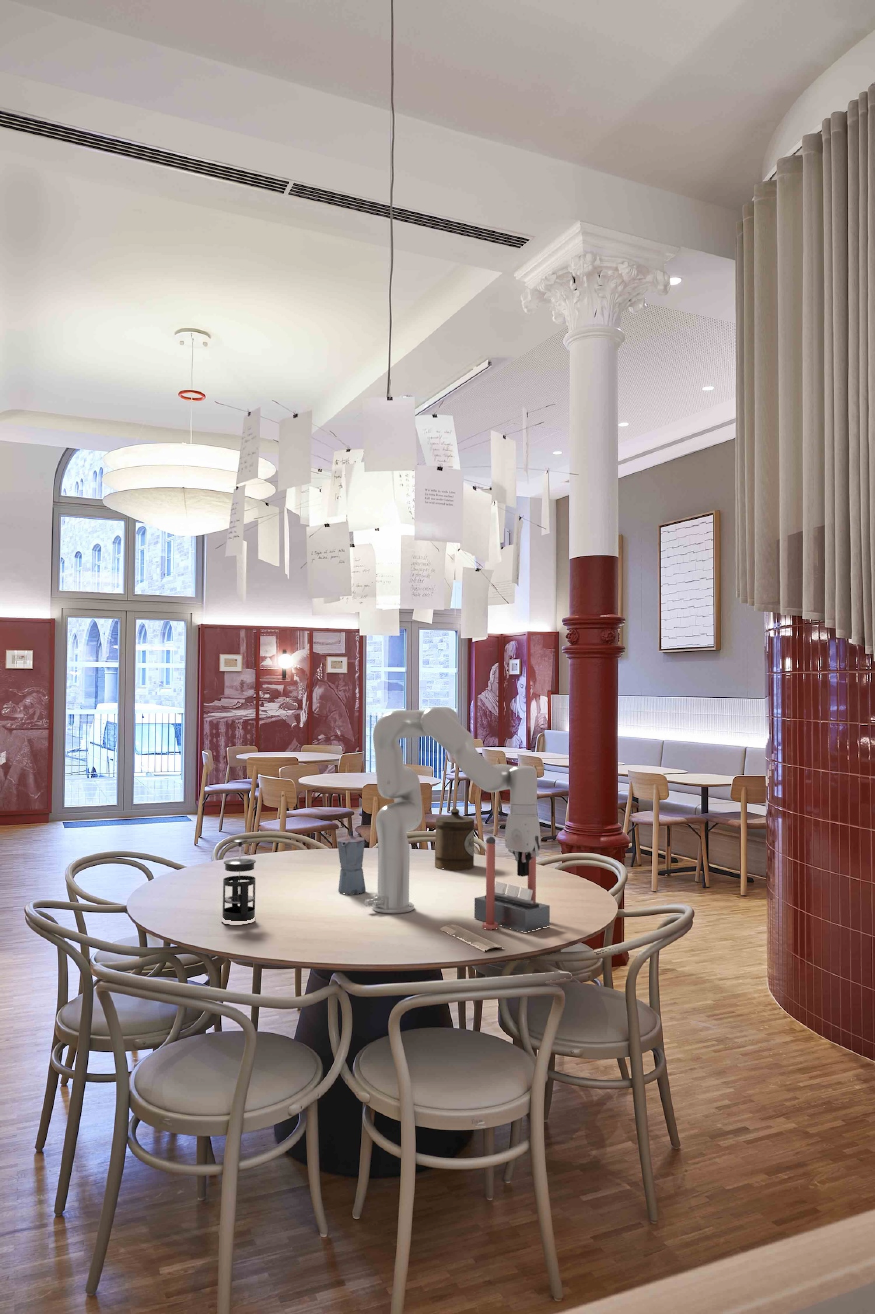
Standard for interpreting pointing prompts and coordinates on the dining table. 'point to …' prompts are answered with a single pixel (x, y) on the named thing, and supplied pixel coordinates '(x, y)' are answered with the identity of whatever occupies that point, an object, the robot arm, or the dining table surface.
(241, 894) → the french press
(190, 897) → the dining table surface
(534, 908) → the box
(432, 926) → the dining table surface
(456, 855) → the wooden container
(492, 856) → the near post
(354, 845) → the moka pot
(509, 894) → the breaker paddles
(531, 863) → the far post
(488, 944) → the beige flat board
